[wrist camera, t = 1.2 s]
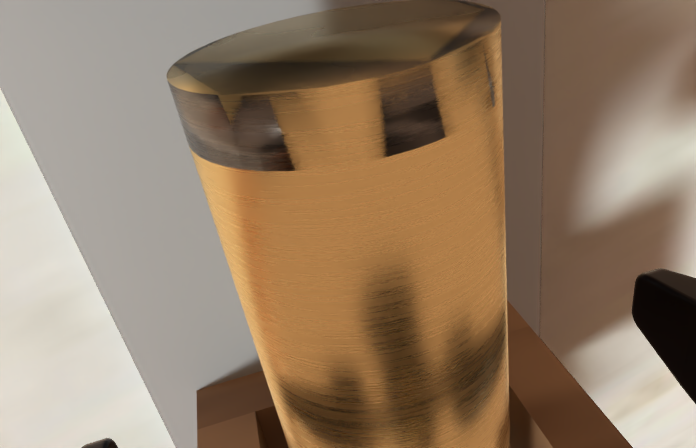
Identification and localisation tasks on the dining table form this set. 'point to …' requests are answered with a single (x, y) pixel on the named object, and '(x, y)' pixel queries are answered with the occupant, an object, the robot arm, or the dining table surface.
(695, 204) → the dining table surface
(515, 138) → the board
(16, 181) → the dining table surface
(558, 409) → the wooden u-shaped cradle
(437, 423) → the tube
